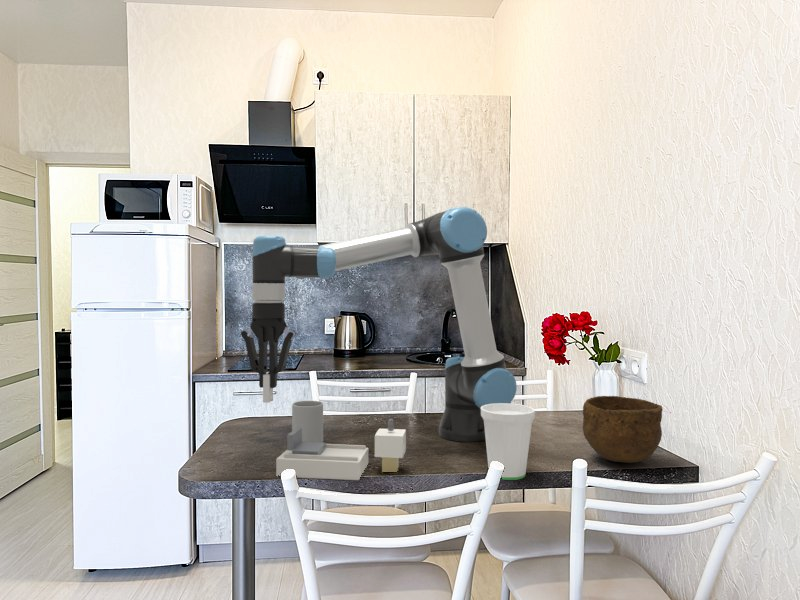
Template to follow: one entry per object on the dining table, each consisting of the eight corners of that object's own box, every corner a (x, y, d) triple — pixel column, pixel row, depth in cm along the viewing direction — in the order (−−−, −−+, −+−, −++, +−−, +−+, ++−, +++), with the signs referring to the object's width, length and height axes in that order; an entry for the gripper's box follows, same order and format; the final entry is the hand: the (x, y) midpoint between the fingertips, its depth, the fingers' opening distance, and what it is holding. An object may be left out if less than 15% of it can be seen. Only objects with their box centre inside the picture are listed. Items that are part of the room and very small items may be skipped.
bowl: (673, 476, 134) (674, 411, 133) (588, 471, 137) (589, 408, 136) (651, 453, 152) (652, 396, 152) (577, 449, 155) (578, 393, 155)
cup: (516, 487, 125) (517, 416, 125) (469, 474, 134) (469, 408, 133) (544, 473, 135) (545, 408, 134) (498, 462, 143) (498, 400, 143)
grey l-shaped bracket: (326, 447, 140) (326, 428, 140) (317, 456, 133) (317, 436, 132) (297, 446, 141) (297, 427, 141) (287, 455, 133) (287, 435, 133)
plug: (405, 466, 139) (406, 416, 139) (402, 475, 133) (402, 422, 133) (379, 465, 140) (379, 415, 140) (374, 474, 134) (374, 421, 133)
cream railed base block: (368, 464, 141) (368, 444, 141) (358, 480, 129) (358, 458, 129) (292, 460, 144) (292, 441, 143) (276, 476, 132) (276, 455, 131)
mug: (320, 447, 155) (320, 406, 155) (288, 447, 156) (288, 406, 155) (327, 436, 167) (327, 398, 167) (298, 435, 168) (298, 397, 167)
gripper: (300, 301, 140) (299, 399, 141) (248, 301, 142) (247, 397, 142) (290, 302, 133) (289, 405, 133) (235, 301, 134) (235, 403, 135)
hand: (267, 401), depth 138 cm, fingers closed
